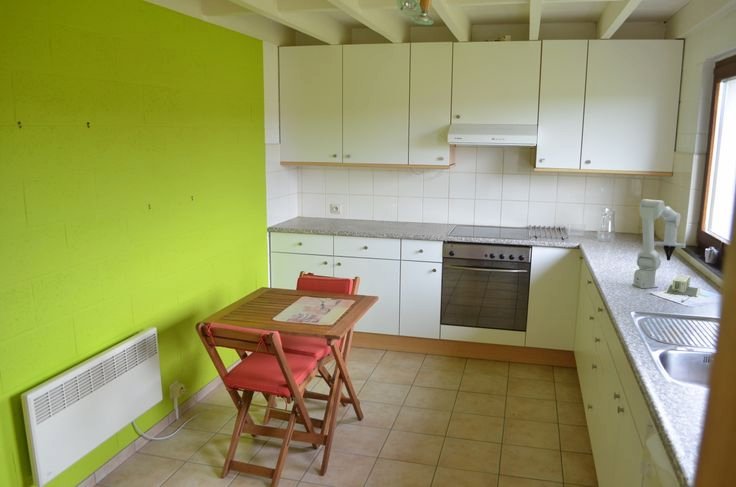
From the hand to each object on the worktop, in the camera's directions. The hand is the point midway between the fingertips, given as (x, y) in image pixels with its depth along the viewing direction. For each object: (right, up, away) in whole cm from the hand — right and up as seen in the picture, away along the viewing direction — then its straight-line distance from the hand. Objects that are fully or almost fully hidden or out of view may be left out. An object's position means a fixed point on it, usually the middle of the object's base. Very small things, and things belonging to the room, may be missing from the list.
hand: (668, 260), depth 310 cm
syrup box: (+1, -10, -13) cm, 17 cm away
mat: (-4, -15, -21) cm, 26 cm away
